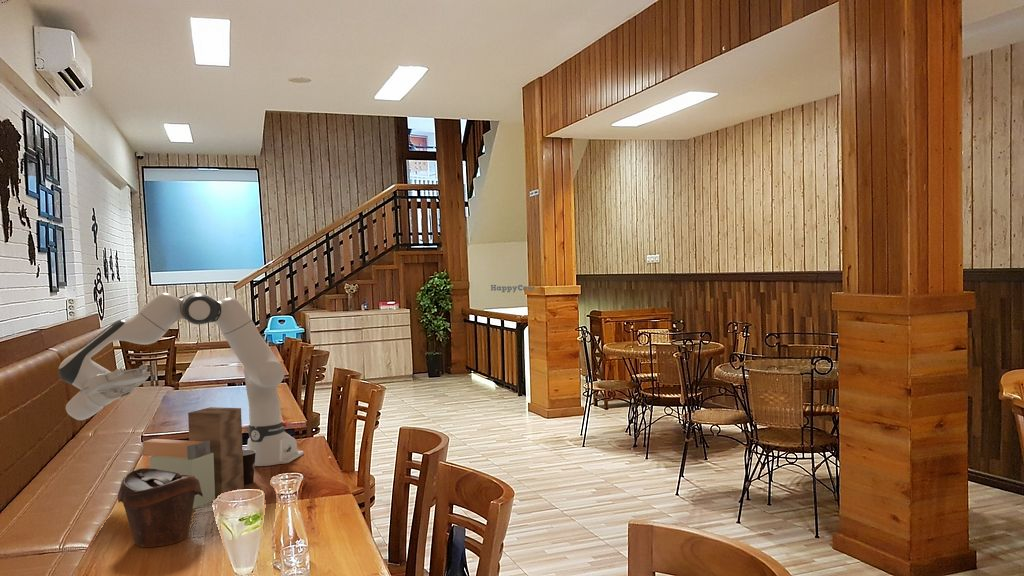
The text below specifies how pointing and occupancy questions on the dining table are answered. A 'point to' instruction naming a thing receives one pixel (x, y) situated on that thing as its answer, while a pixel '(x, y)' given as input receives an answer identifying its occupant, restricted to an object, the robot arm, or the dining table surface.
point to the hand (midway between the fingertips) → (133, 368)
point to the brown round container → (158, 505)
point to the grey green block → (191, 473)
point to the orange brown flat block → (176, 448)
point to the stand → (221, 444)
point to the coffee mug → (248, 466)
